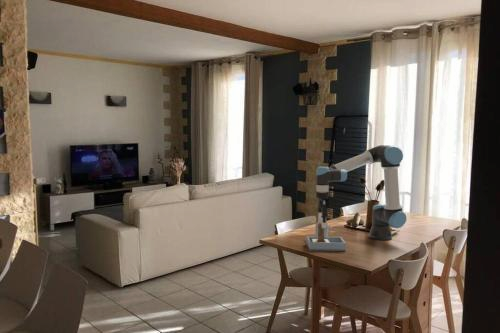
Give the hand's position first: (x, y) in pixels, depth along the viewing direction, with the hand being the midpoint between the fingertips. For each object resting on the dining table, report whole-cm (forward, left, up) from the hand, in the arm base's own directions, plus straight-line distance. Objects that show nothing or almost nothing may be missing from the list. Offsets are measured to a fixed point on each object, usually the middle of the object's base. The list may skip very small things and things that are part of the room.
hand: (322, 225), depth 251 cm
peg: (0, 0, -13) cm, 13 cm away
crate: (-3, 0, -14) cm, 15 cm away
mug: (-5, -20, -15) cm, 25 cm away
